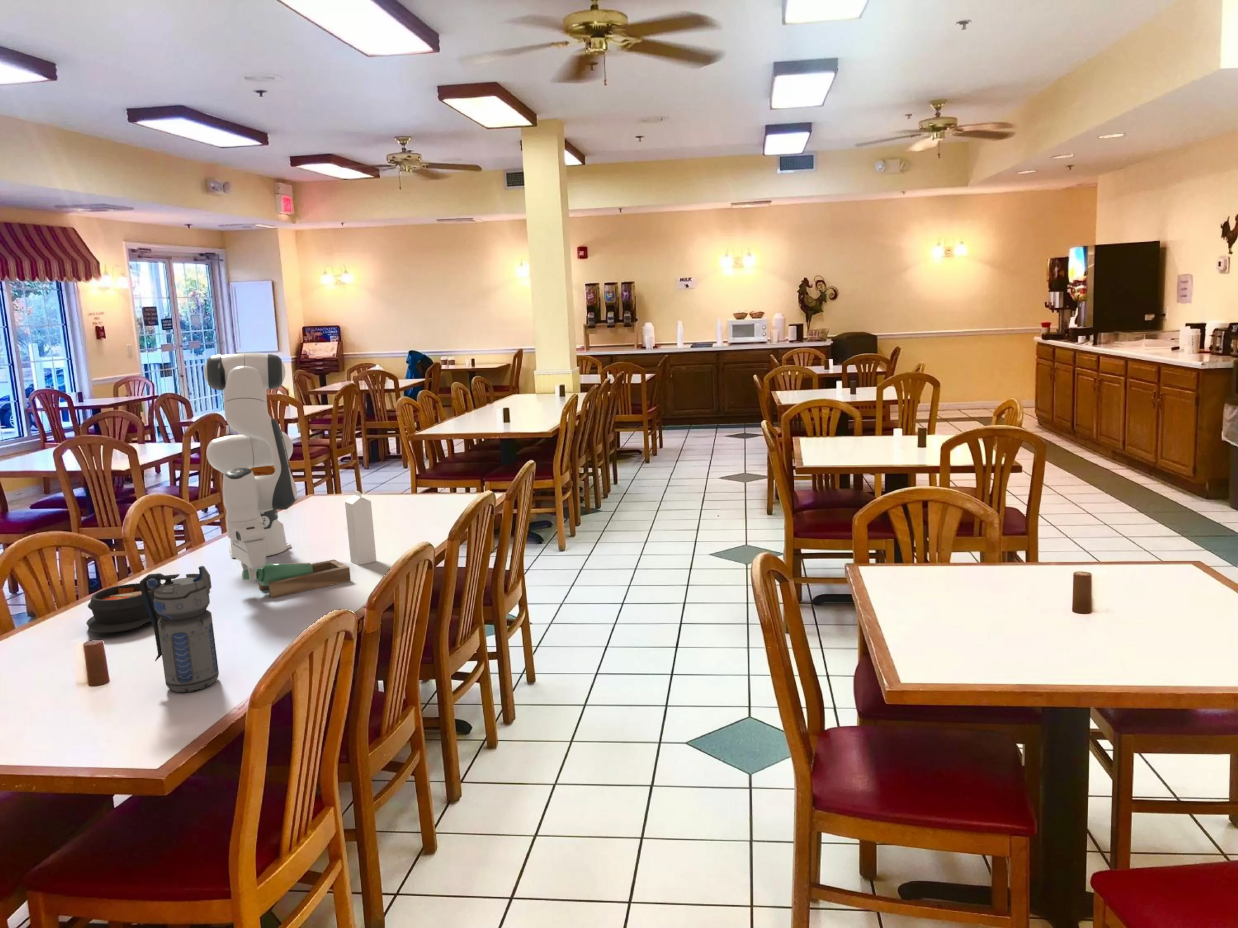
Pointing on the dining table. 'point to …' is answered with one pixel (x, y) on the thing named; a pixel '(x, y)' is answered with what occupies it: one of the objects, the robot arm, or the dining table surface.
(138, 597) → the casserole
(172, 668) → the blue striped grenade
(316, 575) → the u rest
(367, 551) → the milk
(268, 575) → the bottle
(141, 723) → the dining table surface
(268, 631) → the dining table surface
